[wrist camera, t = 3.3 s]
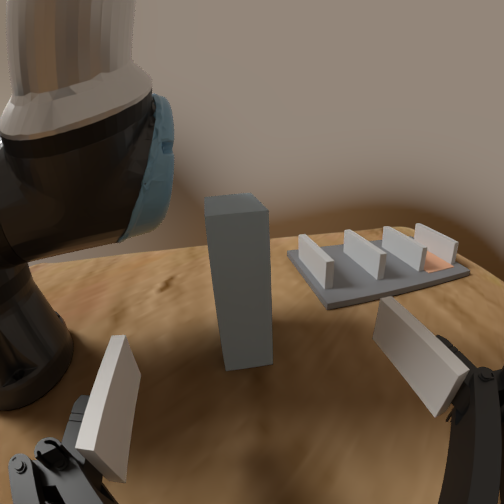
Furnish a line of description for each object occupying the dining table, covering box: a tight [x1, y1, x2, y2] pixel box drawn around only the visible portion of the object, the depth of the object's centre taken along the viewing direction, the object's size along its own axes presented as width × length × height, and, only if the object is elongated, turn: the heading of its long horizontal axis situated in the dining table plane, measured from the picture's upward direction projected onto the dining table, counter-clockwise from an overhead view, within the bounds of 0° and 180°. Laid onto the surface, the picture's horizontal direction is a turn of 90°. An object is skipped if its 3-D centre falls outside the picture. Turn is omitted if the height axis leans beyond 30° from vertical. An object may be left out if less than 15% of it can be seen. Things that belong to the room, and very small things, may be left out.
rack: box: [287, 223, 470, 310], centre depth 38 cm, size 25×16×4 cm, turn 99°
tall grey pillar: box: [205, 193, 273, 371], centre depth 23 cm, size 4×7×13 cm, turn 10°
